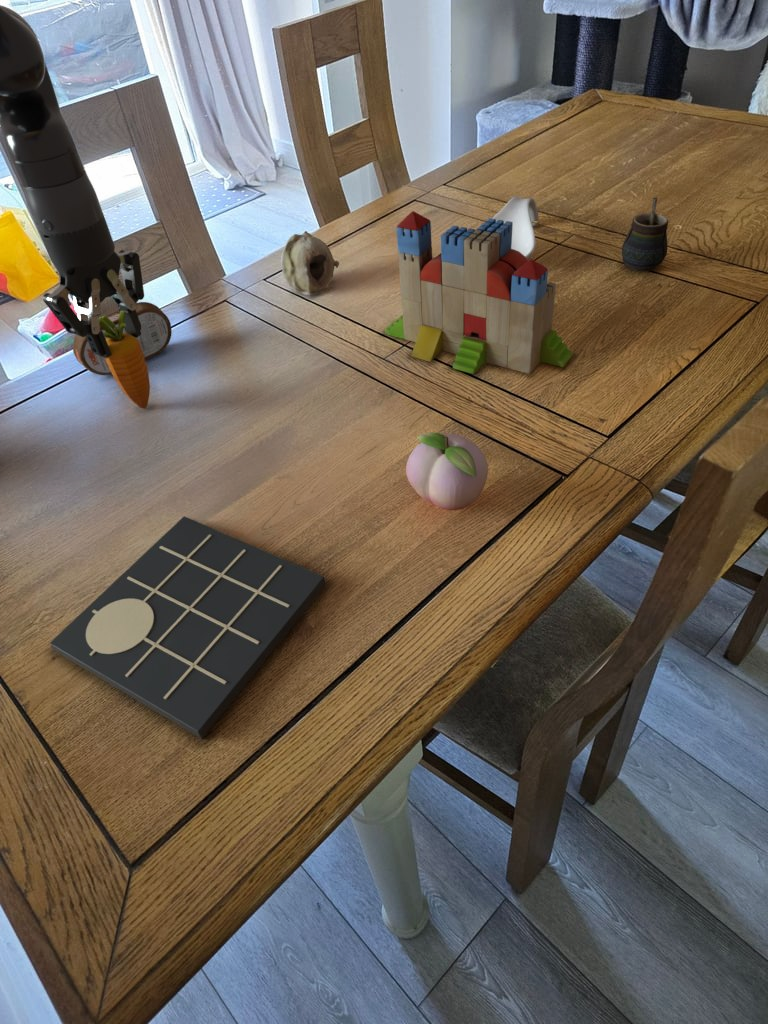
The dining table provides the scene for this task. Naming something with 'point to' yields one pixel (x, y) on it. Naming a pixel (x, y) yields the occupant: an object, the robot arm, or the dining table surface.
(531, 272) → the block set
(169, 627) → the grid board
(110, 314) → the tin
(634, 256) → the mate gourd
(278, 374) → the dining table surface
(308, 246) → the beige rounded lump
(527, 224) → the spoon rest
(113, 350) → the carrot
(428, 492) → the decorative fruit
